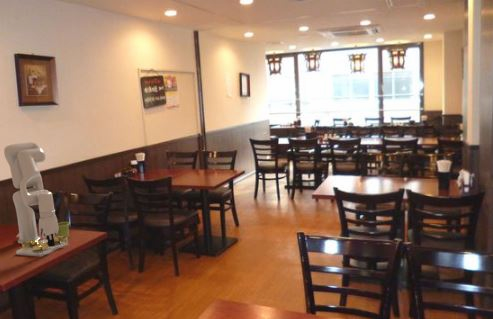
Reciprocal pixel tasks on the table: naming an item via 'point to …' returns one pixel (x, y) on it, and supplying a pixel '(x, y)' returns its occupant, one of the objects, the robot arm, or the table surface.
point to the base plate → (40, 253)
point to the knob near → (29, 243)
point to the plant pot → (63, 229)
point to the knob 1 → (40, 246)
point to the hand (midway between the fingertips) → (51, 246)
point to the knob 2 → (61, 239)
